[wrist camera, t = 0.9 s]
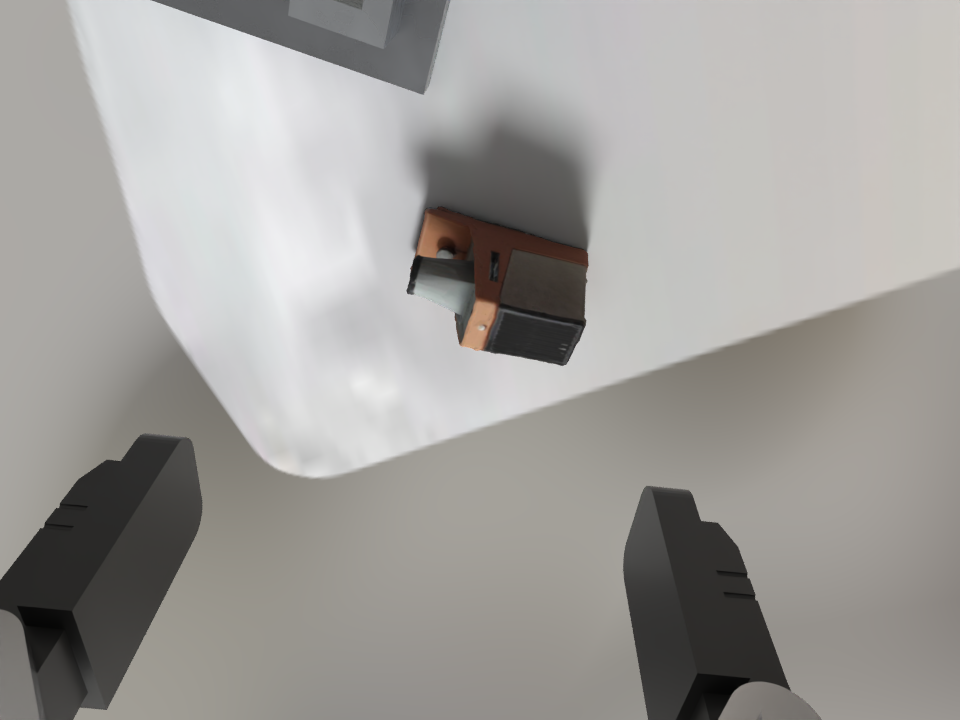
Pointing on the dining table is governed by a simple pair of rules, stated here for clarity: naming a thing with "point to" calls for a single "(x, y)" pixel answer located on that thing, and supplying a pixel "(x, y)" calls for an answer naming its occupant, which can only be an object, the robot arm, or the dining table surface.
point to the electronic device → (502, 286)
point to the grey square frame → (342, 31)
